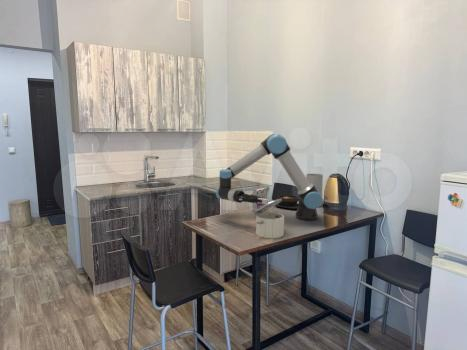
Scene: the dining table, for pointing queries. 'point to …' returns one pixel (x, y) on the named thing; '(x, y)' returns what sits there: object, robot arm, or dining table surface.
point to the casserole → (288, 201)
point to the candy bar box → (262, 193)
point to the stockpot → (269, 224)
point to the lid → (268, 205)
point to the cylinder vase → (316, 181)
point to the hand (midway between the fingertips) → (267, 201)
